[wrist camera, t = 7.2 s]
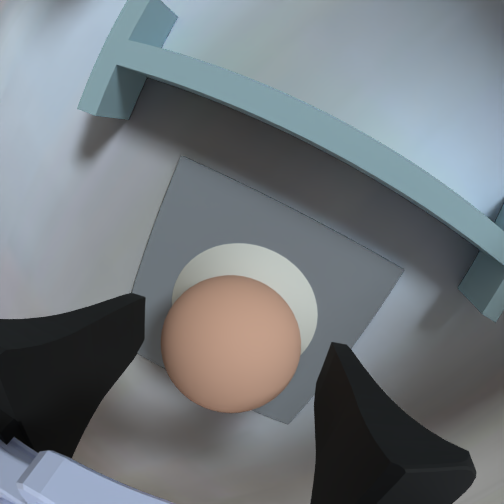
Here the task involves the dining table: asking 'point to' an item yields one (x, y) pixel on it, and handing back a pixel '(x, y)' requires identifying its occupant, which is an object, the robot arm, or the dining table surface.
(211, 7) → the dining table surface
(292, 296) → the resting mat
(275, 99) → the divider wall
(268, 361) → the ball
